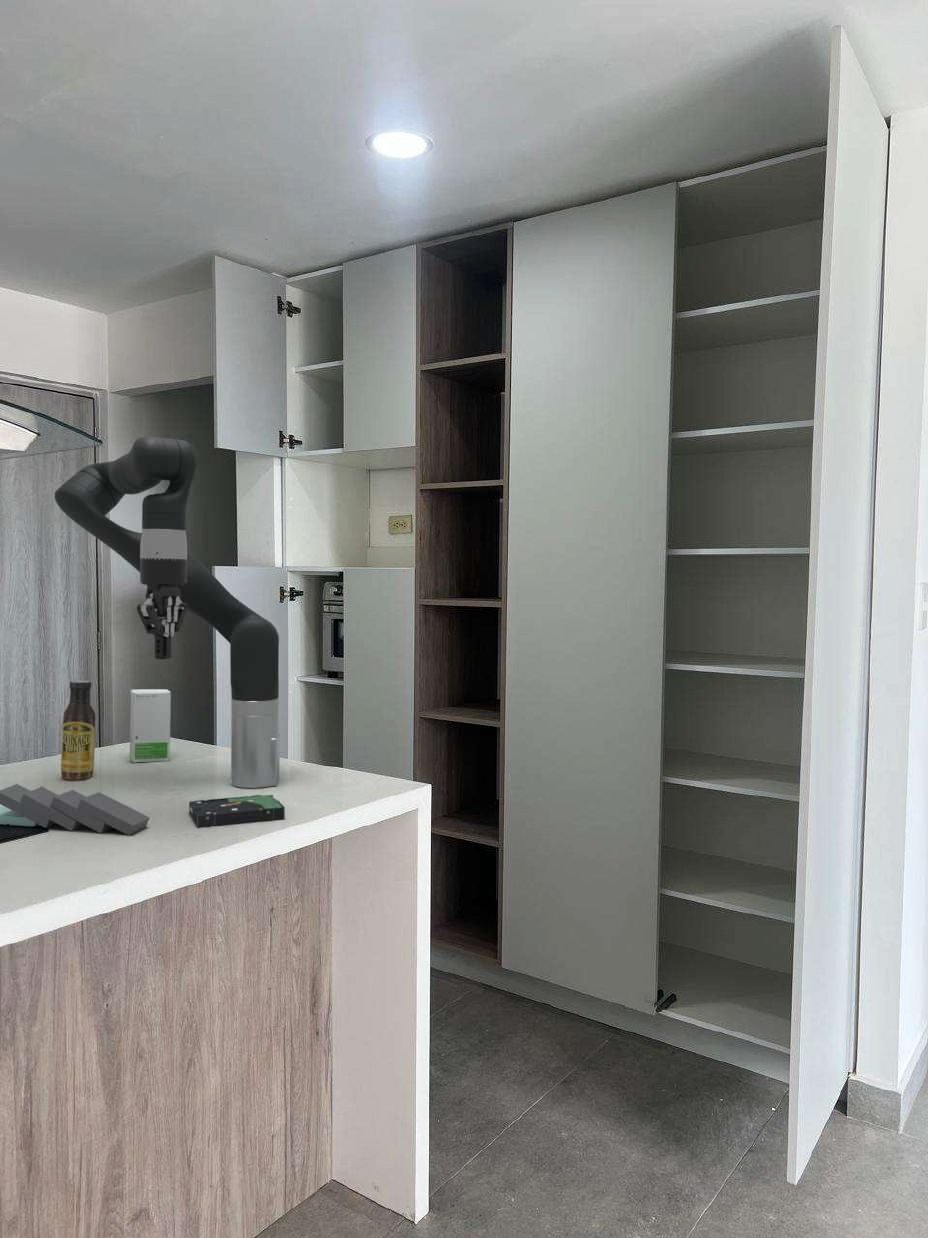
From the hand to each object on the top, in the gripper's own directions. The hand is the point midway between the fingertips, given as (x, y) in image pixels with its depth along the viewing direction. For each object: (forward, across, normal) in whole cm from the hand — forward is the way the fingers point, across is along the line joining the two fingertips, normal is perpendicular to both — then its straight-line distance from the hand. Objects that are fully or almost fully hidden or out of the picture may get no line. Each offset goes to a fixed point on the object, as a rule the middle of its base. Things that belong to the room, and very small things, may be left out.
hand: (163, 658), depth 155 cm
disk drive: (+28, +5, -11) cm, 31 cm away
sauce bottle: (+28, +23, +32) cm, 48 cm away
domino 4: (+27, -8, +4) cm, 28 cm away
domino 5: (+27, -8, 0) cm, 28 cm away
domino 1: (+27, -8, +15) cm, 32 cm away
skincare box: (+28, +43, +28) cm, 58 cm away
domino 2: (+27, -7, +18) cm, 33 cm away
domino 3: (+27, -8, +10) cm, 30 cm away
